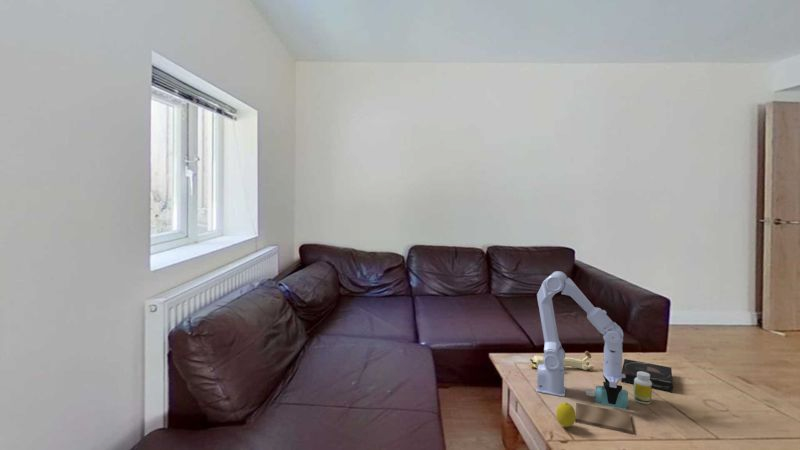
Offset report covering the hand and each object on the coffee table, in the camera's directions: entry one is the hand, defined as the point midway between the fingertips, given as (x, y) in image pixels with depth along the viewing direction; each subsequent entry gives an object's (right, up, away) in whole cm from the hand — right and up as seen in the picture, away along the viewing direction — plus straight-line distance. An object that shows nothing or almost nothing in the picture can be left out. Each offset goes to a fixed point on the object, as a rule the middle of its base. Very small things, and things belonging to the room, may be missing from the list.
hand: (611, 398), depth 141 cm
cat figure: (-6, 0, +29) cm, 30 cm away
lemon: (-22, -3, -14) cm, 26 cm away
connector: (-1, -2, +1) cm, 2 cm away
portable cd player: (+24, -1, +19) cm, 31 cm away
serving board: (-8, -2, -9) cm, 12 cm away
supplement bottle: (+12, -2, +2) cm, 12 cm away
